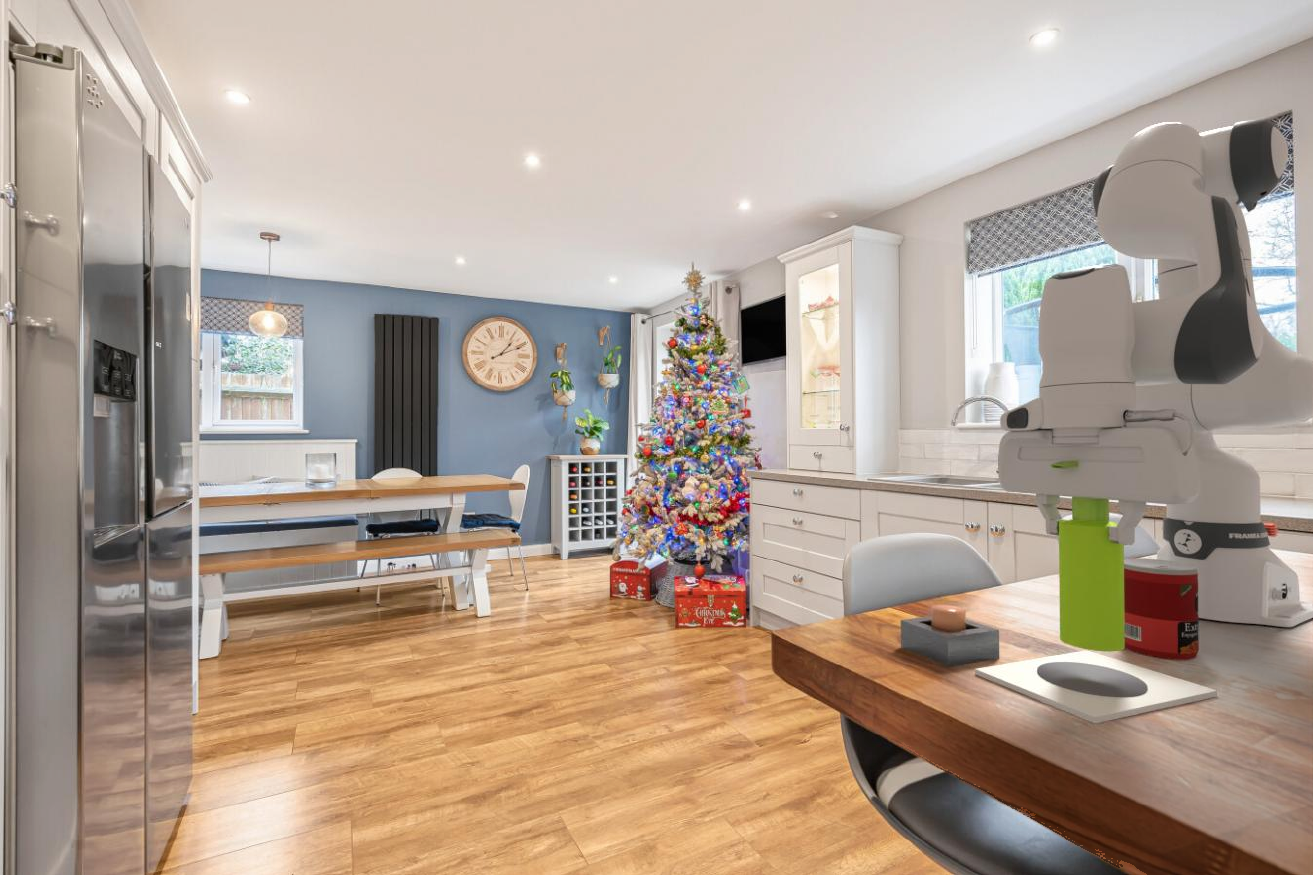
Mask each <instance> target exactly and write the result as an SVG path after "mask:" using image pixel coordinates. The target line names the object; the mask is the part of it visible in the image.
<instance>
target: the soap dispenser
mask: <svg viewBox="0 0 1313 875" xmlns="http://www.w3.org/2000/svg"><path fill="white" fill-rule="evenodd" d="M1051 466H1052V467H1053V468H1062V469H1066V468H1071V467H1077V466H1078V461H1061V462H1057V463H1054V464H1051ZM1071 518H1072V519H1065V520H1064V521H1060V522H1059V536H1058V544H1059V545H1058V546H1059V547H1058V552H1059V553H1058V555H1059V556H1058V558H1059V559H1058V560H1059V563H1058V564H1059V566H1058V568H1059V570H1058V571H1059V572H1058V573H1059V580H1058V581H1059V585H1058V586H1059V640H1060V641H1061V642H1062V643H1064V644H1066V645H1069V646H1072V647H1075V648H1079V649H1083V650H1087V651H1095V652H1120V651H1123V650H1125V649H1126V648H1125V622H1124V559H1125V551H1124V550H1125V547H1124V546H1125V545H1120V544H1113V543H1110V541H1109V536H1110V534H1109V527H1112V526H1117V525H1118V523H1119V522H1114V521H1110V500H1108V499H1095V498H1082V497H1071Z"/></svg>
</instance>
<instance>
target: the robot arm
mask: <svg viewBox="0 0 1313 875" xmlns="http://www.w3.org/2000/svg"><path fill="white" fill-rule="evenodd" d="M1288 159H1289V147H1288V142H1287V140H1286V137H1285V136H1284V134H1283V133H1282V132H1281V131H1280V130H1279V127H1278V125H1277V124H1276V123H1275V122H1272V121H1271V120H1269V119H1267V118H1259V119H1252V120H1251V119H1249V120H1245V121H1243V120H1242V121H1239V122H1235V123H1234V124H1233V125H1232V126H1227V127H1223V128H1222V127H1221V128H1217V129H1213V130H1209V131H1205V132H1200V133H1199V131H1198V130H1196V129H1195V128H1194V127H1192V126H1191V125H1189V124H1186V123H1181V122H1162V123H1158V124H1154V125H1151V126H1149V127H1146V128H1144V129H1143V130H1141V131H1139V132H1137V133H1136V134H1135V135H1134V136H1132V137H1131V138H1130V139H1129V141H1127V143H1126V144H1125V146H1124V147H1123V149H1122V150H1121V152H1120V153H1119V154H1118V156H1117V158H1116V160H1115V161H1114V163H1113V164H1112V165H1110V166H1109V167H1107V168H1105V169H1104V170H1103V171H1102V172H1101V173H1100V174H1099V176H1098V177H1097V179H1096V180H1095V182H1094V184H1093V188H1092V189H1093V190H1092V207H1093V210H1094V213H1095V215H1096V218H1097V219H1096V220H1097V221H1096V224H1097V229H1098V233H1099V234H1100V236H1101V238H1102V239H1103V241H1104V242H1105V243H1106V244H1107V245H1108V246H1109V247H1111V249H1113V250H1114V251H1117V252H1118V253H1120V254H1122V255H1124V256H1128V257H1130V258H1135V259H1139V260H1140V259H1142V260H1157V285H1158V299H1156V298H1155V299H1150V300H1143V301H1136V302H1133V297H1132V291H1131V290H1132V289H1131V284H1130V280H1129V276H1128V272H1127V269H1126V266H1124V265H1121V264H1117V263H1103V264H1098V265H1093V266H1091V265H1090V266H1085V267H1080V268H1075V269H1069V270H1065V271H1061V272H1057V273H1055V274H1054V275H1052V276H1051V277H1049V278H1047V279H1046V280H1045V282H1044V285H1043V289H1042V294H1041V300H1040V309H1039V316H1038V317H1039V318H1038V319H1039V320H1038V352H1039V356H1040V358H1041V362H1042V374H1041V378H1040V381H1039V384H1038V385H1039V386H1038V389H1039V390H1038V392H1039V394H1038V396H1039V397H1036V398H1034V399H1031V400H1029V401H1028V402H1026V403H1023V404H1021V405H1019V406H1016V407H1015V408H1012V409H1010V410H1007V411H1005V412H1003V413H1002V414H1001V415H1000V418H999V419H1000V420H999V421H1000V422H999V425H1000V428H1001V430H1002V431H1004V432H1006V433H1004V434H1003V436H1002V437H1001V439H1000V441H999V445H998V458H997V462H998V463H997V466H998V467H997V471H998V472H997V474H998V482H999V484H1000V486H1001V487H1002V489H1003V490H1004V492H1007V493H1008V492H1010V493H1021V494H1030V495H1031V494H1033V495H1034V494H1035V504H1036V506H1037V508H1038V510H1039V512H1040V513H1041V515H1042V517H1043V519H1045V532H1046V534H1047V535H1051V536H1058V537H1059V522H1060V521H1064V520H1066V518H1062V515H1061V514H1060V512H1059V509H1058V507H1057V506H1056V505H1059V504H1060V503H1061V501H1060V500H1061V498H1060V497H1071V498H1072V497H1082V498H1095V499H1108V500H1109V501H1110V500H1111V501H1118V511H1119V512H1123V514H1122V516H1121V518H1120V520H1119V522H1117V523H1118V525H1117V526H1112V527H1109V534H1110V536H1109V541H1110V543H1113V544H1120V545H1124V546H1131V545H1134V543H1135V540H1136V539H1135V533H1136V532H1135V530H1136V529H1135V528H1137V526H1138V525H1139V523H1140V522H1141V521H1142V519H1143V518H1144V516H1145V515H1146V514H1147V503H1149V504H1158V505H1159V504H1160V505H1165V507H1166V508H1165V510H1166V512H1165V513H1166V516H1165V517H1163V519H1162V526H1161V530H1162V539H1163V540H1164V541H1165V544H1164V545H1163V546H1162V547H1161V548H1160V549H1158V550H1157V552H1156V559H1158V560H1167V561H1175V562H1181V563H1186V564H1190V565H1193V566H1195V567H1197V572H1198V619H1204V620H1210V621H1211V620H1212V621H1219V622H1228V623H1235V624H1237V623H1238V624H1239V623H1241V624H1255V625H1263V626H1264V625H1266V626H1273V627H1282V628H1293V627H1295V626H1297V625H1299V624H1301V623H1304V622H1306V621H1309V620H1311V619H1312V618H1313V604H1312V603H1309V602H1305V601H1301V599H1300V583H1299V578H1298V577H1299V576H1298V573H1297V572H1296V571H1294V570H1293V568H1291V566H1289V565H1288V564H1286V562H1284V561H1283V560H1282V559H1281V558H1279V556H1278V555H1277V554H1276V553H1274V551H1272V550H1271V549H1270V548H1269V546H1270V545H1271V542H1270V539H1269V537H1272V538H1273V537H1274V538H1276V537H1277V536H1278V534H1279V527H1278V525H1277V523H1271V522H1270V523H1265V522H1263V521H1262V520H1261V477H1260V474H1259V472H1258V471H1257V470H1256V468H1255V467H1254V466H1253V465H1252V464H1250V462H1249V461H1247V460H1245V459H1244V458H1241V457H1239V456H1236V455H1234V454H1232V453H1229V452H1227V451H1224V450H1222V449H1221V448H1220V447H1219V446H1218V444H1217V443H1216V441H1215V439H1214V436H1213V430H1217V431H1218V430H1257V429H1258V430H1260V429H1261V430H1263V429H1264V430H1266V429H1271V428H1277V427H1284V426H1290V425H1294V424H1299V423H1305V422H1307V421H1309V420H1310V419H1312V418H1313V360H1312V359H1310V357H1308V356H1306V355H1303V354H1300V353H1299V352H1297V351H1295V350H1292V349H1291V348H1289V347H1287V346H1285V345H1284V344H1283V343H1281V342H1280V341H1279V340H1278V339H1277V338H1276V337H1275V336H1274V335H1273V334H1272V333H1271V332H1270V331H1269V329H1268V328H1267V327H1266V326H1265V324H1264V322H1263V320H1262V318H1261V315H1260V314H1259V311H1258V306H1257V301H1256V296H1255V295H1256V294H1255V290H1254V287H1255V285H1254V278H1253V277H1254V276H1253V264H1252V263H1253V262H1252V249H1251V243H1250V236H1249V232H1248V226H1247V222H1246V218H1245V216H1244V212H1243V209H1242V206H1241V205H1240V204H1241V203H1242V204H1243V206H1244V207H1245V209H1246V211H1247V212H1248V213H1250V212H1251V211H1253V210H1255V209H1256V207H1257V205H1258V202H1259V201H1260V200H1263V199H1264V198H1265V197H1267V196H1269V194H1271V193H1272V191H1274V189H1276V187H1277V185H1279V183H1281V181H1282V180H1283V176H1284V174H1283V173H1284V171H1285V170H1286V167H1287V163H1288V161H1289V160H1288ZM1061 461H1078V466H1077V467H1071V468H1066V469H1062V468H1053V467H1052V466H1051V464H1054V463H1057V462H1061Z"/></svg>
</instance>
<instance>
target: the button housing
mask: <svg viewBox="0 0 1313 875" xmlns="http://www.w3.org/2000/svg"><path fill="white" fill-rule="evenodd" d="M900 648H903V649H905V650H907V651H909V652H913V654H917V655H918V656H922V657H924V658H926V659H929V660H932V661H933V662H936V663H938V664H940V665H943V666H945V667H946V668H947V667H948V668H949V667H954V666H955V667H956V666H960V665H961V666H962V665H963V666H964V665H968V664H969V665H970V664H974V663H980V662H986V661H992V660H999V659H1000V630H999V629H997V628H994V627H991V626H988V625H984V624H982V623H979V622H975V621H972V620H969V619H966V630H962V631H955V632H945V631H943V630H940V629H937V628H934V627H931V615H928V616H921V617H915V618H907V619H900Z"/></svg>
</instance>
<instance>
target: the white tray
mask: <svg viewBox="0 0 1313 875" xmlns="http://www.w3.org/2000/svg"><path fill="white" fill-rule="evenodd" d="M974 675H976V676H979V677H980V678H983V679H986V680H988V681H990V682H993V683H995V684H998V685H1000V686H1003V687H1005V688H1007V689H1009V690H1010V689H1011V690H1012V691H1015V692H1018V693H1020V694H1021V695H1024V696H1027V697H1029V698H1031V699H1034V700H1037V701H1040V702H1042V703H1044V704H1046V705H1049V706H1051V707H1053V708H1056V709H1059V710H1061V711H1064V712H1066V713H1068V714H1070V715H1073V716H1076V717H1078V718H1080V719H1083V720H1085V721H1087V722H1090V723H1092V724H1095V725H1096V724H1100V723H1103V722H1110V721H1113V720H1117V719H1121V718H1126V717H1131V716H1136V715H1139V714H1145V713H1149V712H1153V711H1158V710H1162V709H1167V708H1172V707H1175V706H1180V705H1185V704H1189V703H1193V702H1197V701H1202V700H1208V699H1211V698H1215V697H1216V698H1217V697H1218V690H1216V689H1213V688H1211V687H1207V686H1205V685H1201V684H1198V683H1195V682H1191V681H1187V680H1184V679H1181V678H1177V677H1175V676H1171V675H1168V674H1165V673H1162V672H1158V671H1155V670H1152V669H1149V668H1145V667H1142V666H1139V665H1136V664H1133V663H1129V662H1125V661H1124V660H1120V659H1116V658H1113V657H1110V656H1106V655H1103V654H1100V653H1097V652H1093V651H1092V650H1088V649H1084V650H1081V651H1074V652H1069V653H1063V654H1056V655H1049V656H1044V657H1039V658H1033V659H1028V660H1019V661H1015V662H1007V663H1003V664H1002V663H1001V664H996V665H992V666H991V665H990V666H984V667H979V668H974Z"/></svg>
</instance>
